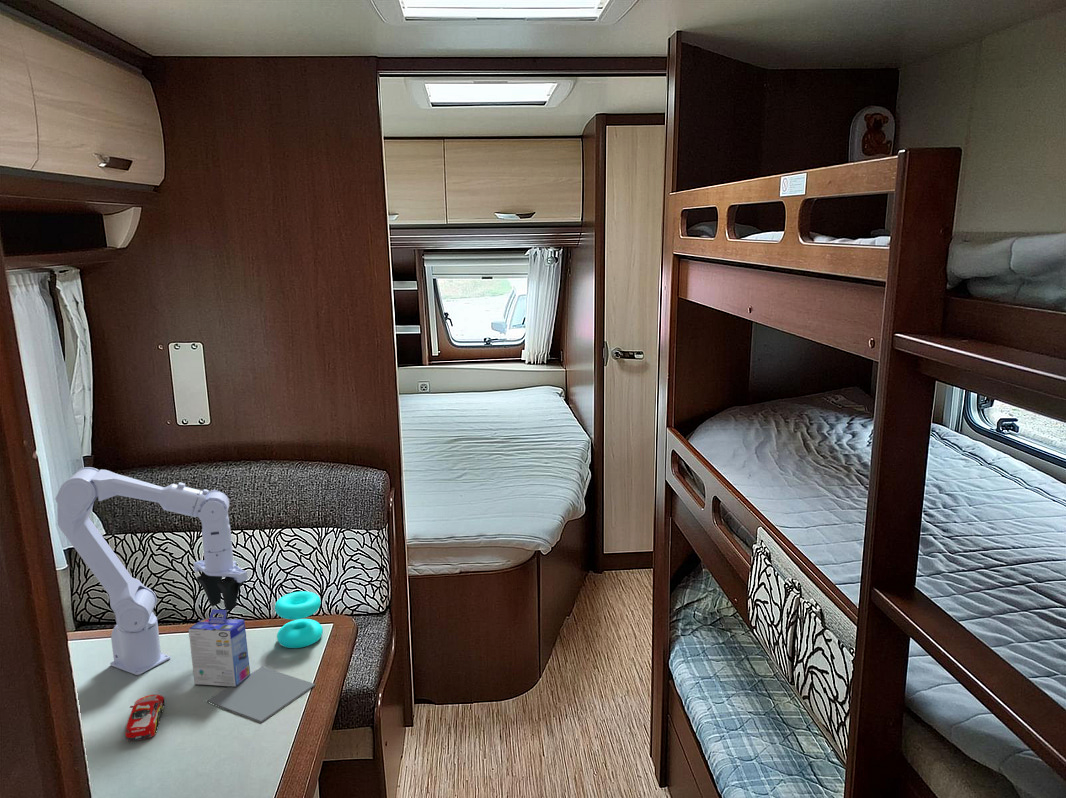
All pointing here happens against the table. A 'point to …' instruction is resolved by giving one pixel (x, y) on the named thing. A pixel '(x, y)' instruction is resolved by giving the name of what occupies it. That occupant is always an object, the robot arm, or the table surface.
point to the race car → (144, 717)
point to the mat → (261, 694)
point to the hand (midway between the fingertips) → (223, 606)
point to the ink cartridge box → (219, 651)
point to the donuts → (301, 629)
